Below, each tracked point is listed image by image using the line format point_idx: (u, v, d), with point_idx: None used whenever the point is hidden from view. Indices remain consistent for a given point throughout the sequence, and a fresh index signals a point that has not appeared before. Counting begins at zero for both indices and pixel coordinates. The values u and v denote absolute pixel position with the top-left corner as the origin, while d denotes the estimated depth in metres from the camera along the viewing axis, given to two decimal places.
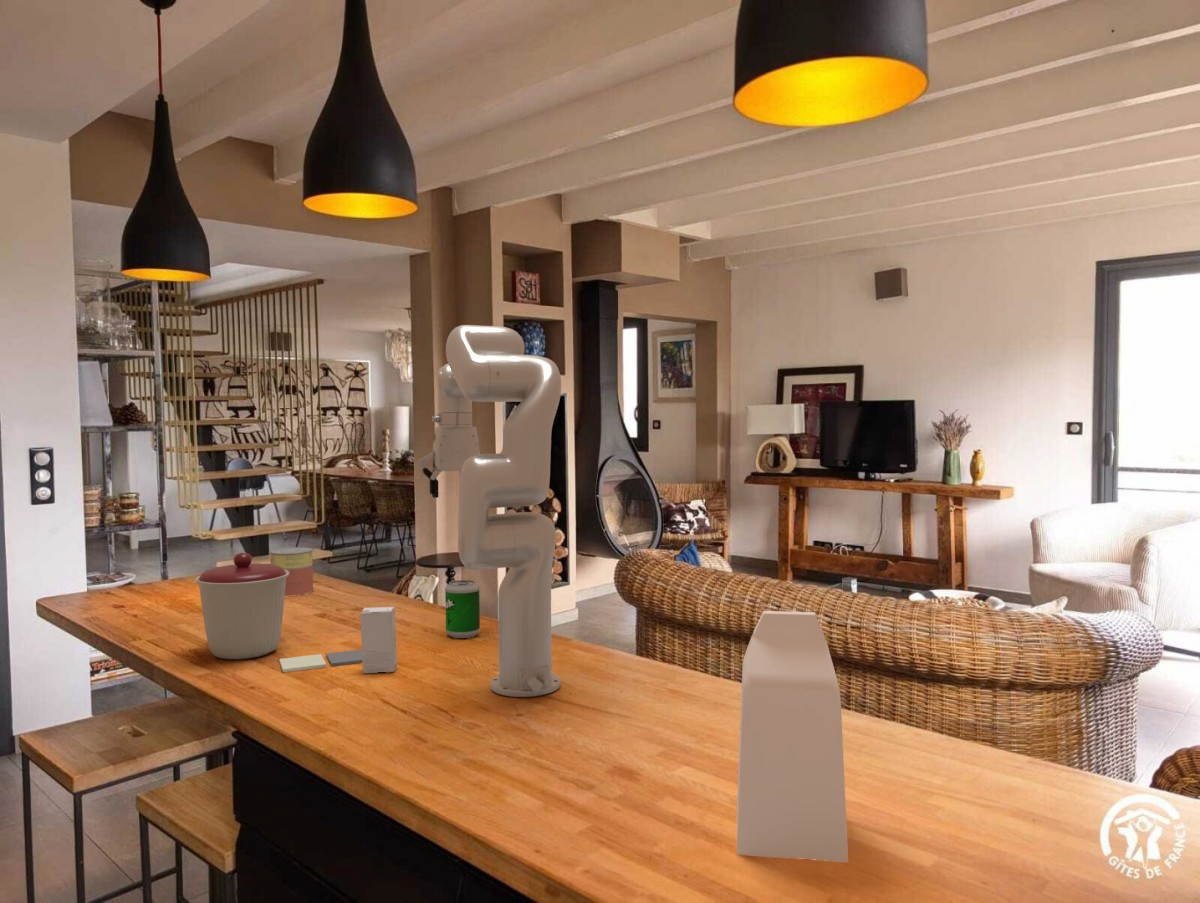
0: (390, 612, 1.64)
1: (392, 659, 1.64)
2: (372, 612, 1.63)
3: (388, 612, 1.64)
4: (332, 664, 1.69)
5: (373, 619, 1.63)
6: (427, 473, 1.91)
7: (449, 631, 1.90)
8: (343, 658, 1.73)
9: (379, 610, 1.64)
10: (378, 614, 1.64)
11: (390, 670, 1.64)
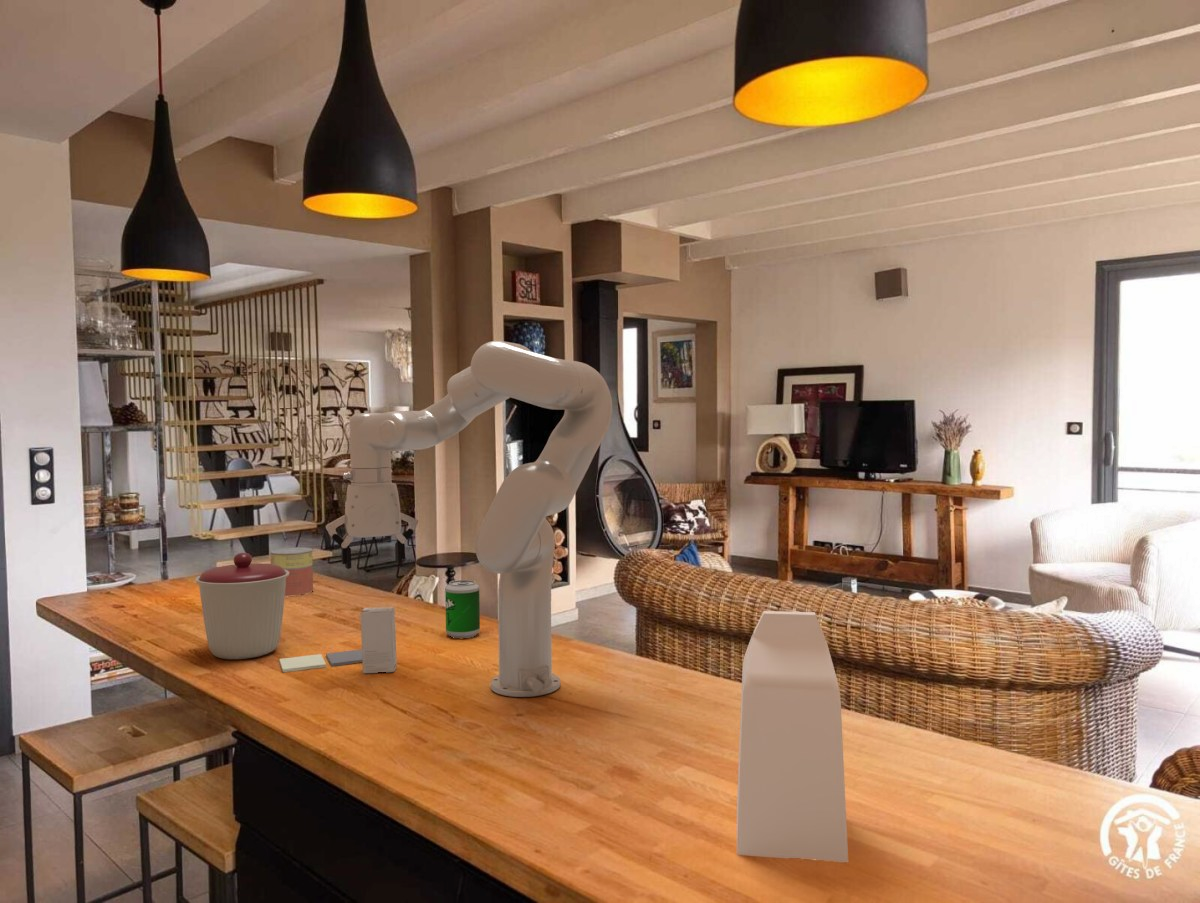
0: (390, 612, 1.64)
1: (392, 659, 1.64)
2: (372, 612, 1.63)
3: (388, 612, 1.64)
4: (332, 664, 1.69)
5: (373, 619, 1.63)
6: (337, 540, 1.62)
7: (449, 631, 1.90)
8: (343, 658, 1.73)
9: (379, 610, 1.64)
10: (378, 614, 1.64)
11: (390, 670, 1.64)
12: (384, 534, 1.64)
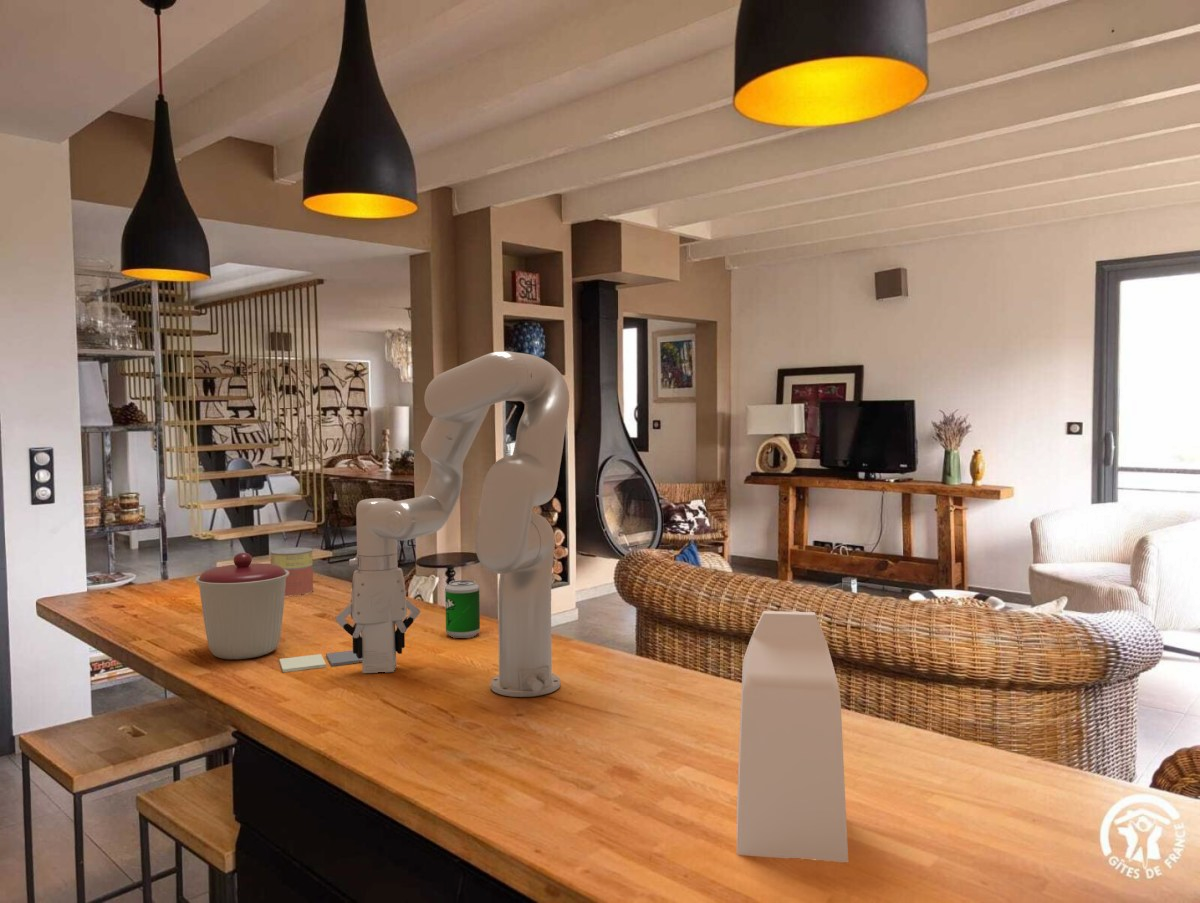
0: (390, 612, 1.64)
1: (392, 659, 1.64)
2: None
3: None
4: (332, 664, 1.69)
5: None
6: (349, 630, 1.63)
7: (449, 631, 1.90)
8: (343, 658, 1.73)
9: None
10: None
11: (390, 670, 1.64)
12: None
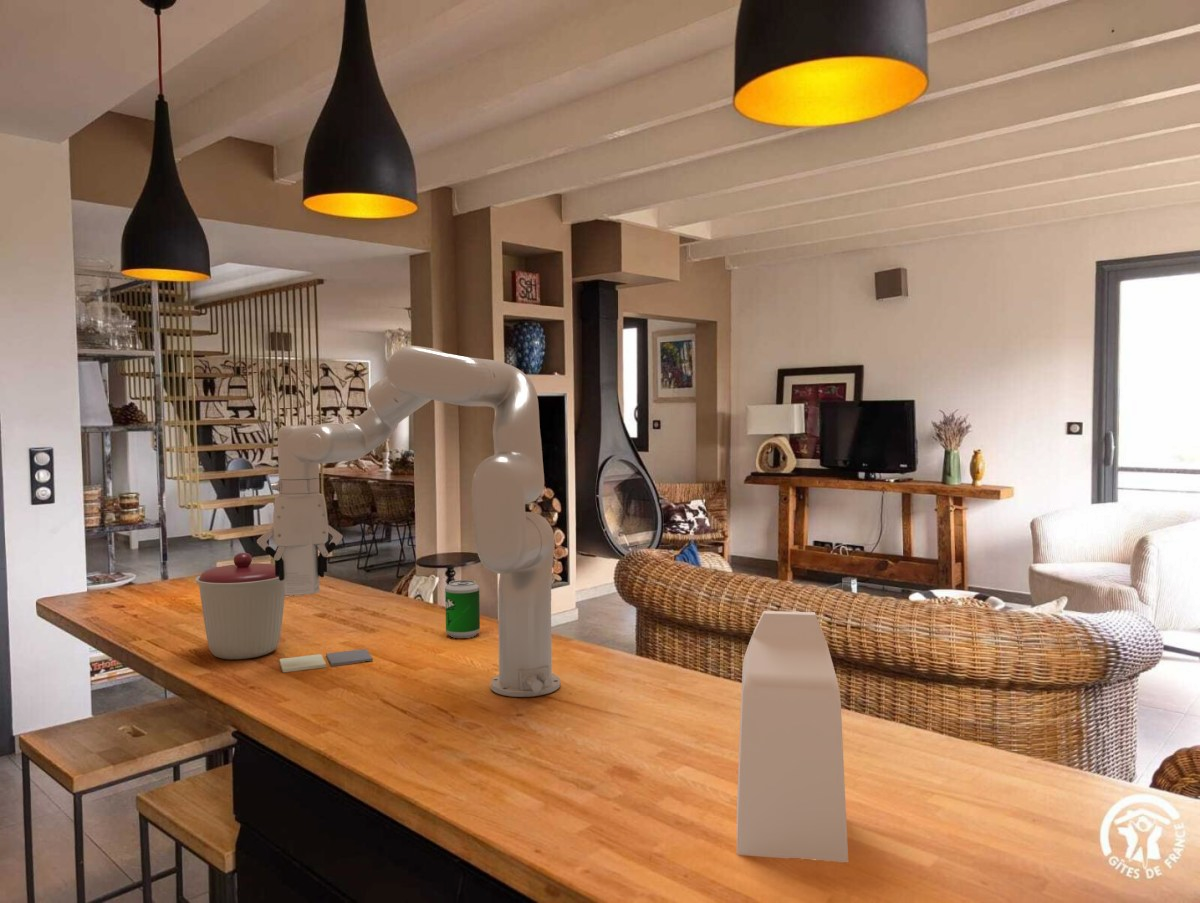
0: (311, 535, 1.68)
1: (313, 581, 1.68)
2: None
3: None
4: (332, 664, 1.69)
5: None
6: (270, 552, 1.67)
7: (449, 631, 1.90)
8: (343, 658, 1.73)
9: None
10: None
11: (311, 592, 1.68)
12: None
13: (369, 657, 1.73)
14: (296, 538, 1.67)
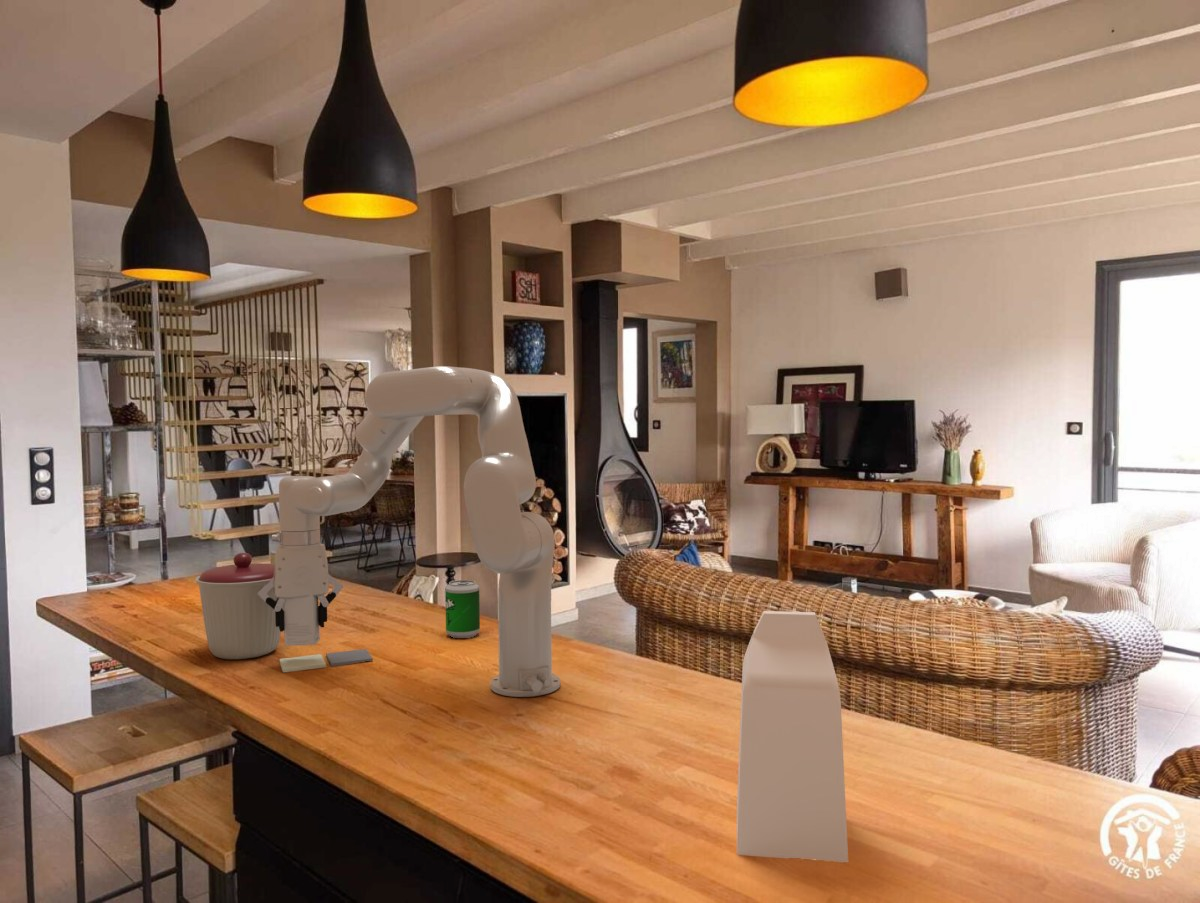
0: (311, 586, 1.68)
1: (313, 632, 1.69)
2: None
3: None
4: (332, 664, 1.69)
5: None
6: (271, 604, 1.67)
7: (449, 631, 1.90)
8: (343, 658, 1.73)
9: None
10: None
11: (312, 643, 1.69)
12: None
13: (369, 657, 1.73)
14: (297, 589, 1.67)
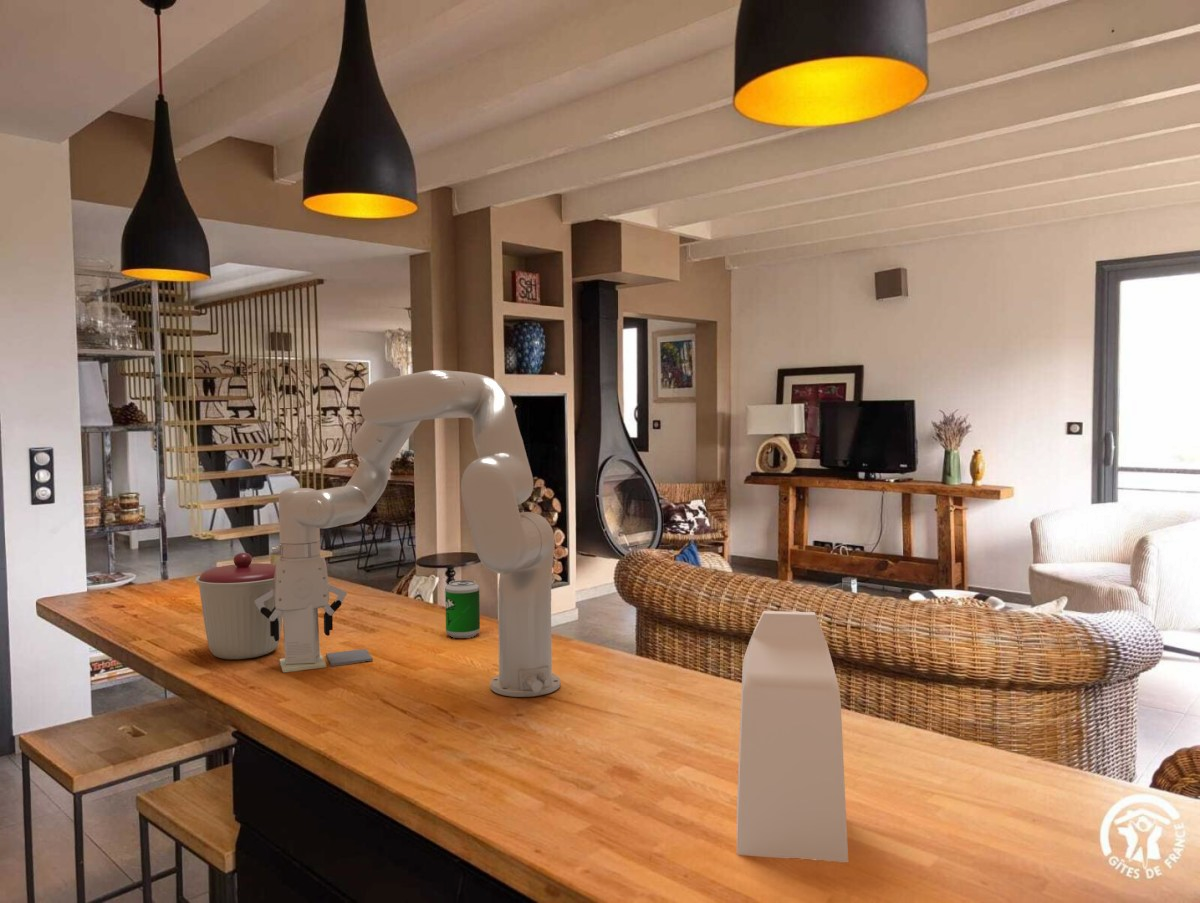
0: (311, 604, 1.68)
1: (314, 650, 1.69)
2: None
3: (309, 604, 1.68)
4: (332, 664, 1.69)
5: (294, 611, 1.68)
6: (265, 613, 1.67)
7: (449, 631, 1.90)
8: (343, 658, 1.73)
9: None
10: None
11: (312, 661, 1.69)
12: None
13: (369, 657, 1.73)
14: (297, 602, 1.67)
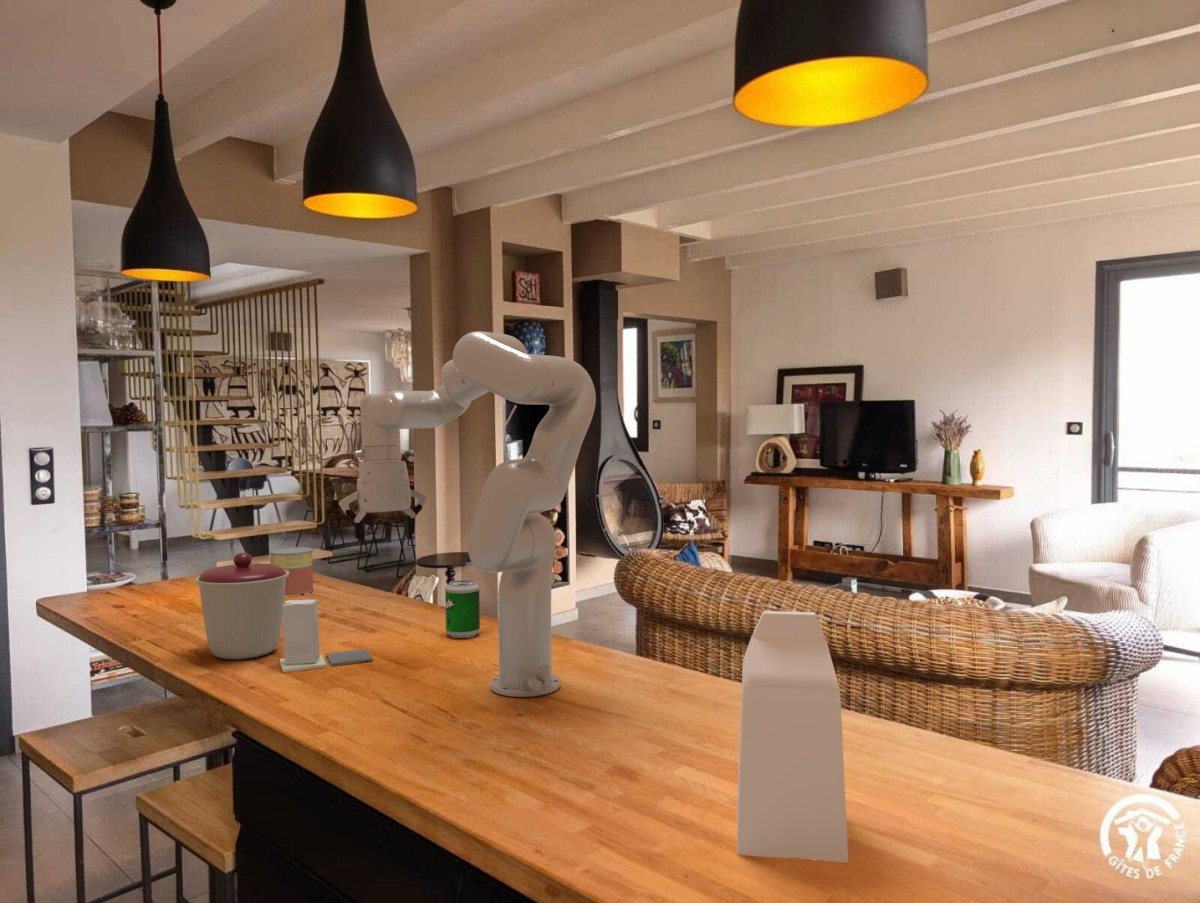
0: (311, 604, 1.68)
1: (314, 650, 1.69)
2: (294, 604, 1.68)
3: (309, 604, 1.68)
4: (332, 664, 1.69)
5: (294, 611, 1.68)
6: (350, 515, 1.69)
7: (449, 631, 1.90)
8: (343, 658, 1.73)
9: (301, 602, 1.69)
10: (299, 606, 1.68)
11: (312, 661, 1.69)
12: (395, 509, 1.71)
13: (369, 657, 1.73)
14: (381, 503, 1.70)
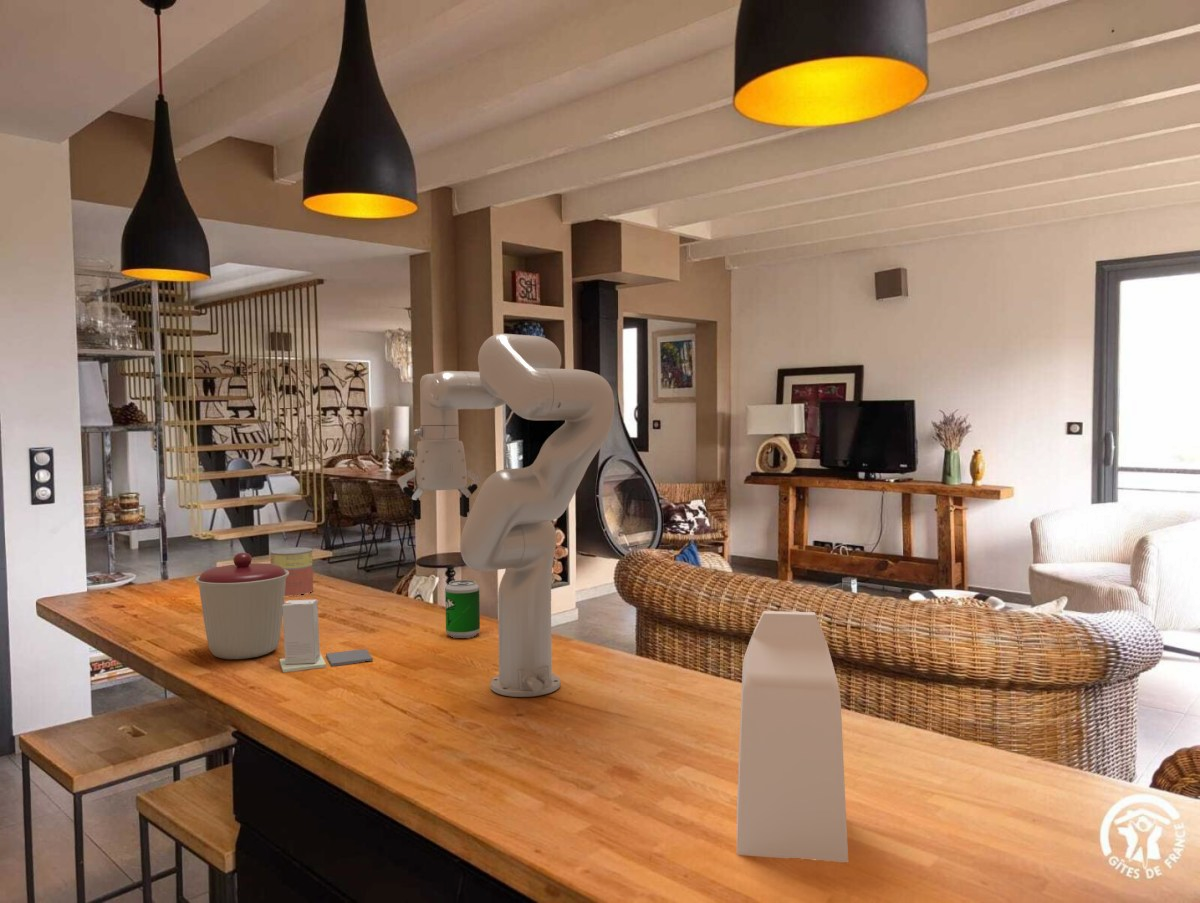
0: (311, 604, 1.68)
1: (314, 650, 1.69)
2: (294, 604, 1.68)
3: (309, 604, 1.68)
4: (332, 664, 1.69)
5: (294, 611, 1.68)
6: (408, 492, 1.73)
7: (449, 631, 1.90)
8: (343, 658, 1.73)
9: (301, 602, 1.69)
10: (300, 606, 1.68)
11: (312, 661, 1.69)
12: (452, 488, 1.74)
13: (369, 657, 1.73)
14: (438, 482, 1.73)
